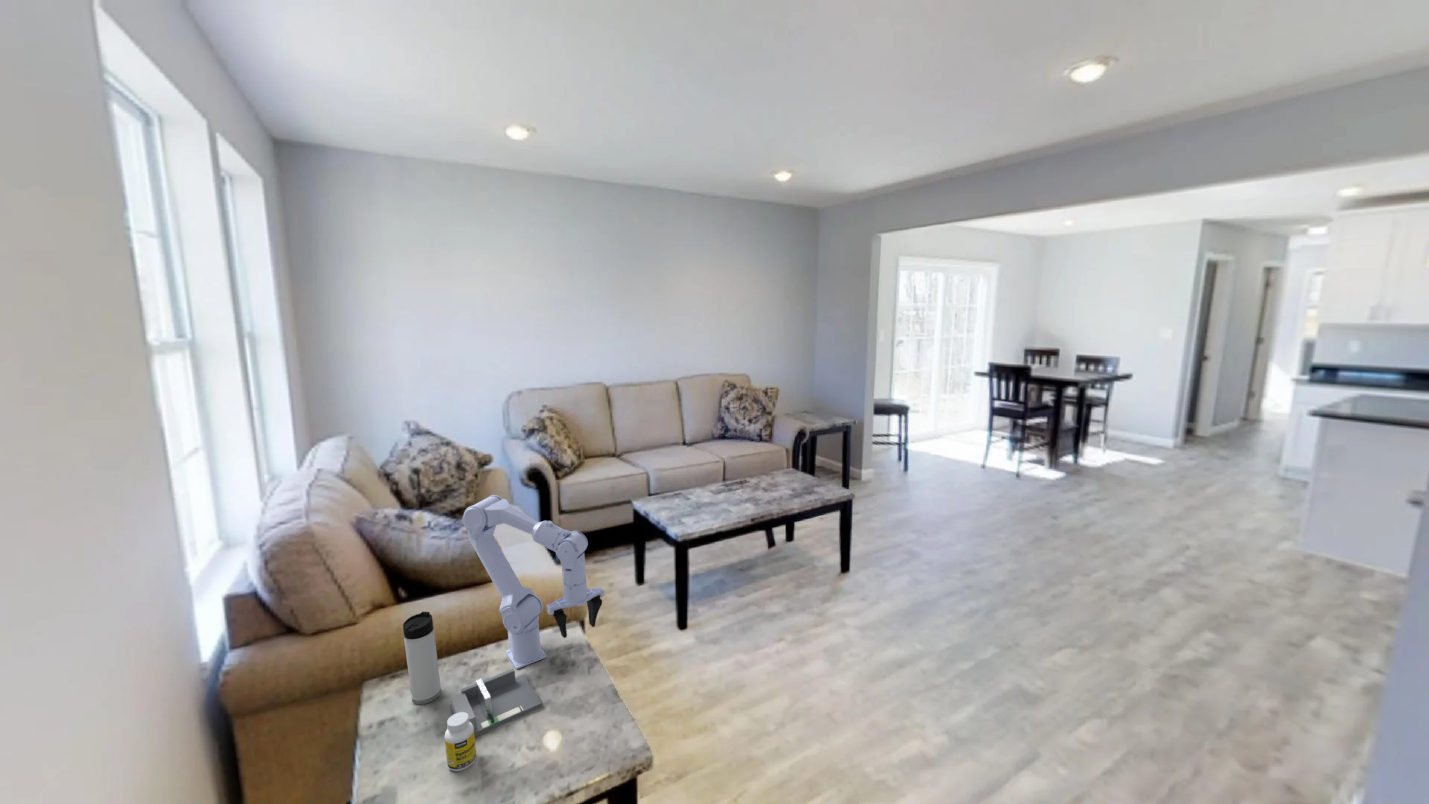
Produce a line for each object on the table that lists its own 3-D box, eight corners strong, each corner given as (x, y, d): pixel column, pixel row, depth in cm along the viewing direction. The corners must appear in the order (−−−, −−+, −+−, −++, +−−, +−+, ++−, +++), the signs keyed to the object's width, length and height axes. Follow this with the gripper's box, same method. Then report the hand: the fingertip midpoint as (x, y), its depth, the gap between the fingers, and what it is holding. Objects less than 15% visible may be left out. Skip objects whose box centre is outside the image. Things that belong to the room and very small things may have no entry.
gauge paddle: (477, 698, 129) (475, 680, 129) (483, 696, 130) (481, 678, 129) (490, 724, 121) (488, 705, 120) (495, 722, 122) (493, 703, 121)
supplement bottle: (456, 777, 109) (451, 732, 108) (442, 764, 112) (437, 721, 111) (482, 759, 113) (477, 716, 112) (468, 747, 117) (463, 705, 115)
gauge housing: (450, 708, 128) (448, 692, 128) (524, 678, 138) (522, 663, 138) (463, 741, 118) (462, 725, 117) (542, 706, 128) (541, 691, 127)
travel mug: (447, 686, 136) (438, 611, 133) (431, 705, 130) (421, 626, 126) (423, 685, 137) (414, 610, 134) (406, 704, 130) (395, 625, 127)
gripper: (552, 596, 132) (556, 648, 135) (607, 577, 141) (611, 627, 143) (542, 585, 138) (546, 635, 140) (596, 568, 147) (599, 615, 149)
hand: (578, 630), depth 142 cm, fingers open, 7 cm apart
